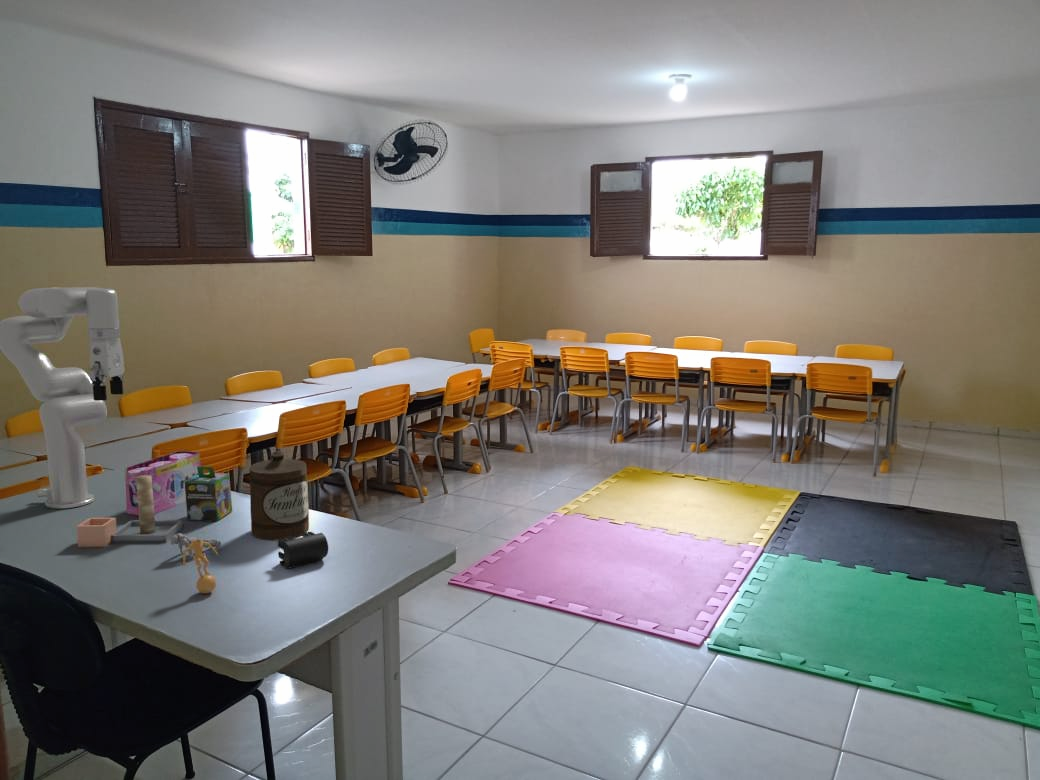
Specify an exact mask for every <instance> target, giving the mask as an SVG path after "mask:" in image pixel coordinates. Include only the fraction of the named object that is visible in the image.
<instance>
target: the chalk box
mask: <svg viewBox="0 0 1040 780" xmlns="http://www.w3.org/2000/svg"><path fill="white" fill-rule="evenodd" d="M197 470H198V475H196V476H193V477H191V478H190V479H189V480H187V481H185V494H186V503H185V504H186V515H187V516H186V517H187V520H188V521H203V522H218V521H220V520H221V519H223V518H225V516H227V515H228V514H230V513H231V512H233V505H232V504H233V503H232V491H231V478H230V473H229V472H226V473H225V472H215V469H214V467H213V466H202V465H200V466H198V467H197ZM205 470H206V471H208V472H203V471H205Z"/></svg>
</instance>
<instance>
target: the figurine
mask: <svg viewBox="0 0 1040 780" xmlns="http://www.w3.org/2000/svg"><path fill="white" fill-rule="evenodd" d="M196 539H197V540H193V541H192V542H191V544H190V545H189V547H188V548H186V547H185V549H184V551H183V554H182V557H183V559H182V560H183V562H182V565H183V567H186V566H187V564H188V563H187V562H186V559H187V558H186V557H187V556H186V555H187V553H188V551H189V550H190V549H191V548H192V552H193V553H194V555H193V557H194V560H193V561H194V562H195V564H196V565H197V568H196V570H197V572H198V574H199V578H197V580H196V583H195V585H196V589H197V590H198V592H199V593H200V594H201V593H202V594H209V593H212V592H213V591H214V589H215V588H216V586H217V581H216V579H215V577H214V576H213V575H211V574H210V573H209V572H208V570H207V567H208V566H209V564H210V562H209V560H208V559H207V557H206V553H205V552H203V548H204V547H203V545H209V547H208V548H211V550H212V551H214V552H215V553H216V555H217V556H218V555H219V554H218V551H217V550H216V548H215V547H214V548H213V547H212V546H211V545H210V543H207V542H203V540H201V538H196ZM202 563H204V565H203V570H204V573H205V574H203V573H202V571H201V568H202Z"/></svg>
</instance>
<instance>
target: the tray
mask: <svg viewBox="0 0 1040 780" xmlns="http://www.w3.org/2000/svg"><path fill="white" fill-rule="evenodd" d="M184 527H185V525H184V520H183V519H180V520H179V519H177V520H176V519H174V520H173V519H172V520H171V519H170V520H168V519H165V520H164V519H163V520H161V519H160V520H159V519H156V520H155V532H154V533H152V534H140V522H139V519H137V520H135V519H133V520H128V522H126V524H124V525H122V526H121V527H119V528H118V529H117V532H115V533H114V534H113V535H111V543H110V544H112V543H113V544H115V543H117V544H118V543H167V542H169V540H171V538H172V536H174V535H176V534H178V533H179V531H181V529H183V528H184Z"/></svg>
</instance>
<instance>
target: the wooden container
mask: <svg viewBox="0 0 1040 780" xmlns="http://www.w3.org/2000/svg"><path fill="white" fill-rule="evenodd" d="M284 457H285V453H284V452H283V451H280V450H275V451H273V452H272V453H271V454H270V458H271V459H268V460H262V461H259V462H256V463H253V464H252V465H250V467H249V472H248V473H249V486H250V487H249V491H250V497H249V498H250V509H249V510H250V520H251V521H250V526H251V527H250V529H251V535H252V536H254V537H255V538H256V539H260V540H267V541H278V540H279V539H282V538H286V537H291V538H293V539H295V538H298V537H299V536H301V534H303V533H307V532H309V529H310V528H309V527H310V517H309V514H310V513H309V491H308V475H307V473H308V470H307V469H308V468H307V463H306V462H305V461H303V460H299V459H294V458H293V459H292V458H291V459H290V458H284Z"/></svg>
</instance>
